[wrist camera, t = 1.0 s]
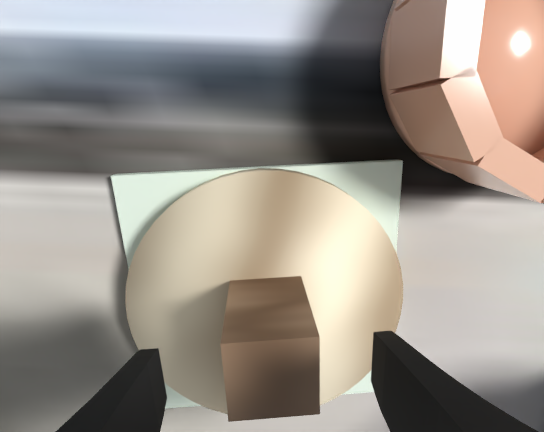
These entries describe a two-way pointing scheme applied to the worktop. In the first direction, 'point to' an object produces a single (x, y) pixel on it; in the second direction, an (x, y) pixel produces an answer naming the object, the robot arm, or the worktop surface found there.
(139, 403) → the robot arm
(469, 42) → the bowl
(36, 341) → the worktop surface
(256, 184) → the lid
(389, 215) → the mat
